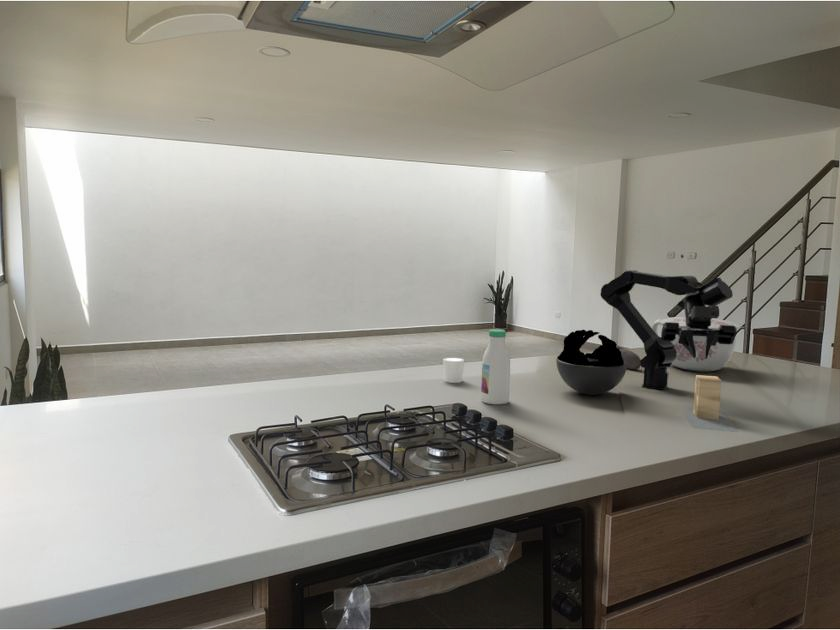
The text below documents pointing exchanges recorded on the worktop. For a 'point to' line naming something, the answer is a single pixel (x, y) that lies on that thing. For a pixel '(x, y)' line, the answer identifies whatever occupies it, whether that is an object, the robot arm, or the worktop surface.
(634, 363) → the perforated stone tool
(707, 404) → the letter block
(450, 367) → the white cup
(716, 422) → the slate mat
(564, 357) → the coal bowl
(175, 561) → the worktop surface
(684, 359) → the chamber pot
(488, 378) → the milk bottle
